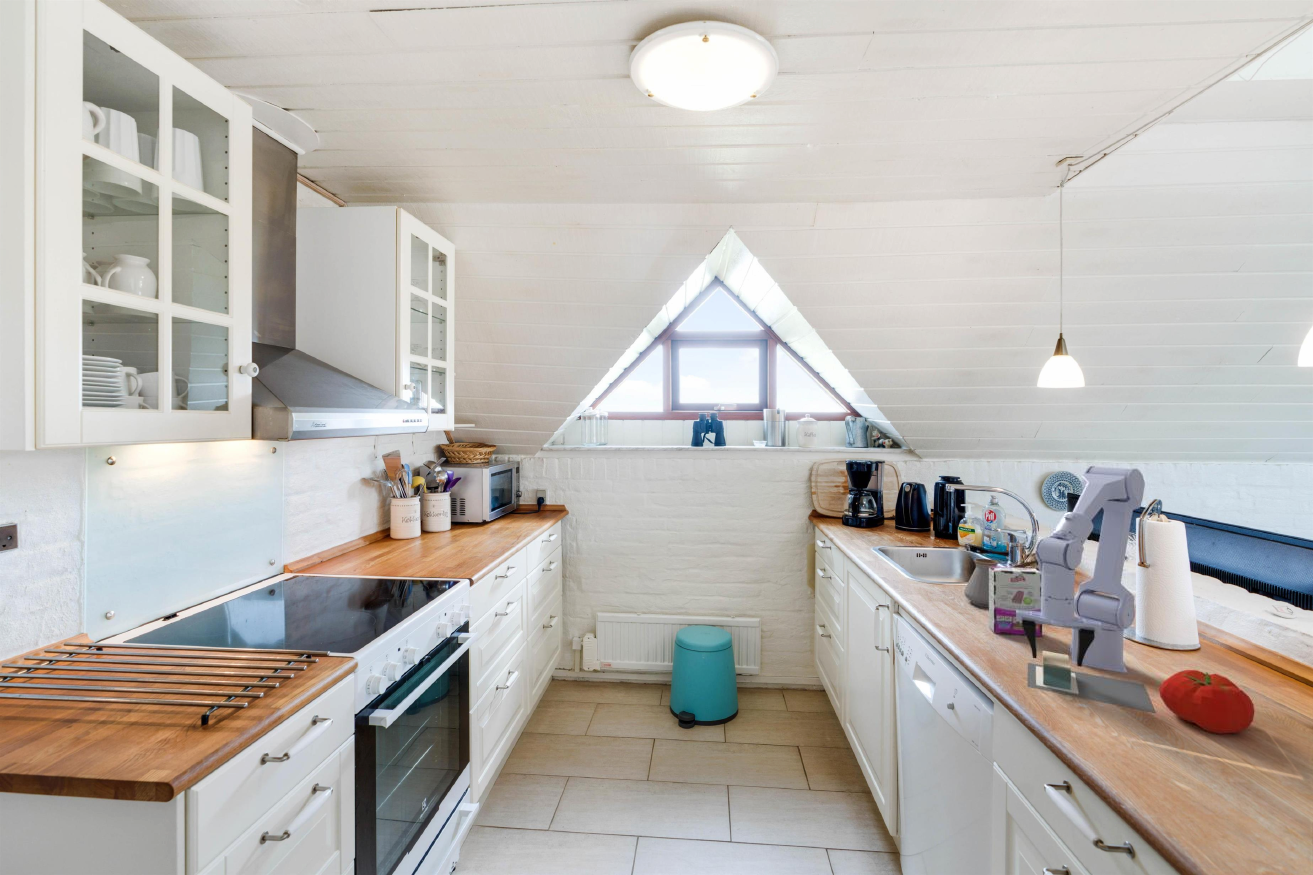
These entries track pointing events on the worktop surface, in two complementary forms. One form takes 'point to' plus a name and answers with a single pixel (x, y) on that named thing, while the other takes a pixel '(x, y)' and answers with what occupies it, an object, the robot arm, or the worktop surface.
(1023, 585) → the candy bar box
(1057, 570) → the robot arm
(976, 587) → the coffee pot
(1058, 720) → the worktop surface
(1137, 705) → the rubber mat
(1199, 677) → the tomato
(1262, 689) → the worktop surface
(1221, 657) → the worktop surface
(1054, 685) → the green and cream block
